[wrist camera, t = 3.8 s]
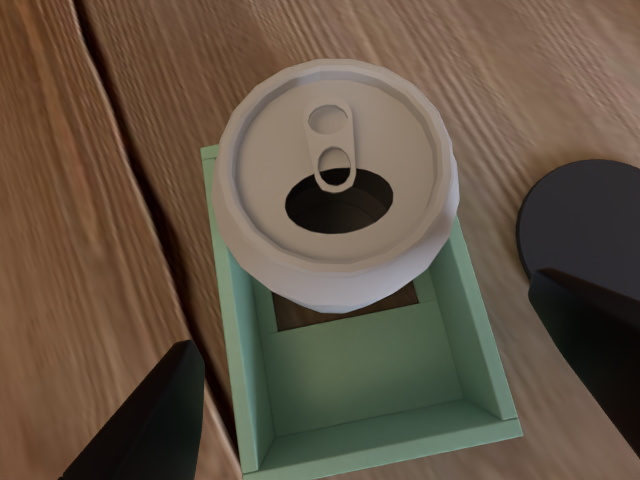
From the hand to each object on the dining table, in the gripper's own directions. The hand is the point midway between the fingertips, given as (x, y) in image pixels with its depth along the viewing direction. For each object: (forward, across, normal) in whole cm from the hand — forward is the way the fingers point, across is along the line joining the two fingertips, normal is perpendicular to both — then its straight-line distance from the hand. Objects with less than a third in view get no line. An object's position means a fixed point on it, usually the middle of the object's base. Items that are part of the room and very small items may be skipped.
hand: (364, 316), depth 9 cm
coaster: (+8, -15, +7) cm, 19 cm away
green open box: (+9, 0, +6) cm, 11 cm away
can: (+11, 0, +5) cm, 12 cm away
